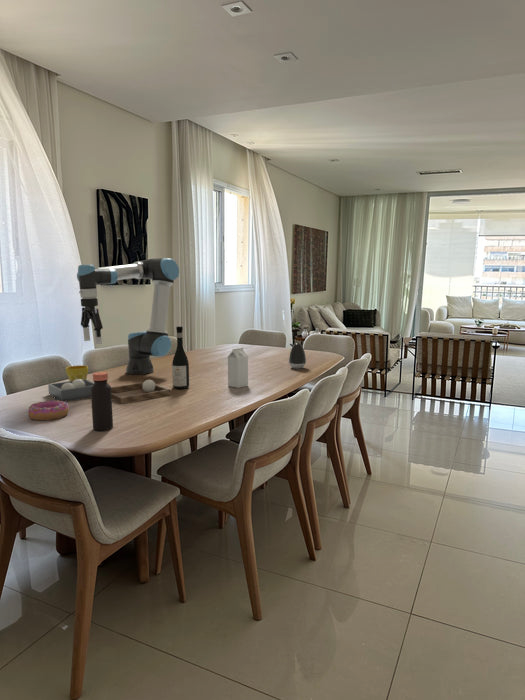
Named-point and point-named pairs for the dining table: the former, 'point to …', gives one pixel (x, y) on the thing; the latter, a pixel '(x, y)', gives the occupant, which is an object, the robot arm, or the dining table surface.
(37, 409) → the donut
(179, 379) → the wine bottle
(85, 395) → the grey shallow box
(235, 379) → the milk carton
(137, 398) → the tray
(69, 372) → the plant pot
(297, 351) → the pump dispenser
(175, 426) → the dining table surface
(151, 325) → the robot arm
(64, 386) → the pebble
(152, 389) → the pebble
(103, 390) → the vinegar
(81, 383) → the off-white glossy ball
